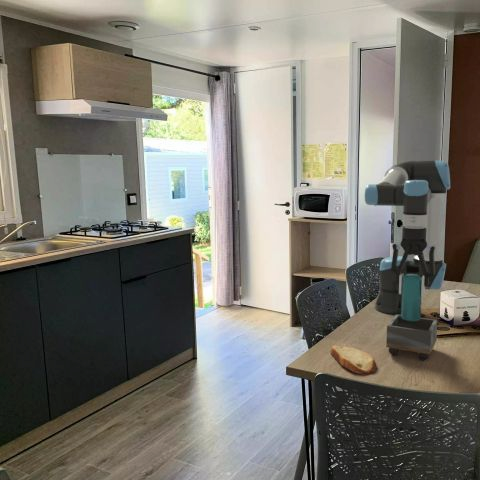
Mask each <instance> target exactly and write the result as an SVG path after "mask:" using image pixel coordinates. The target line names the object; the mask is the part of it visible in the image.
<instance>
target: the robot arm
mask: <svg viewBox="0 0 480 480" xmlns="http://www.w3.org/2000/svg"><path fill="white" fill-rule="evenodd" d="M450 189H451V174H450V166H449V164H448V162H447V161H445V160H437V159H435V160H407V161H403V162H400V163H397V164H394V165H393V166H391V167H390V168H388V169H387V171H386V172H385V174H384V177H382V179H381V180H379V182H378V183H377V184H376V183H373V184H367V185H366V186H365V189H364V202H365V204H366V205H368V206H374V207H375V206H376V207H377V206H380V207H381V206H382V207H383V206H386V207H387V206H389V207H391V206H392V207H395V206H396V207H403V212H402V226H403V228H402V232H401V233H402V235H401V238H402V239H401V241H400V242H394V243H393V244H392V245H391V246H392V250H393V252H392V256H388V257H385V258H383V259H382V260H381V261H380V265H379V289H378V293H377V297H376V298H375V299H376V300H375V303H374V309H375V310H376V311H377V312H381V313H385V314H392V315H393V314H394V315H396V314H397V315H401V313H402V312H401V311H402V306H401V305H402V303H401V302H402V301H401V299H402V298H401V297H402V287H403V277H404V276H405V275H407V274H416V275H419V276H420V277H421V278H422V286H421V298H422V297H423V298H424V296H425V295H426V290H428V291H430V290H431V291H439V290H441V288H442V286H443V283H444V278H445V273H446V268H447V263H445V262H443V261H444V259H443V257H442V256H441V254H440V246H441V245H440V244H441V243H440V242H441V223H442V222H441V221H442V204H443V203H442V201H443V197H444V196H445V195H447V190H450ZM401 248H402V249H403V251H404V253H403V255H399V250H400V249H401ZM409 255H410V256H411V255H412V256H413V255H414V256H413V260H409V257H408V256H409ZM407 265H417V266H419V272H418V273H410V272H406V268H407Z"/></svg>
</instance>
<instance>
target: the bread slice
mask: <svg viewBox="0 0 480 480" xmlns="http://www.w3.org/2000/svg"><path fill="white" fill-rule="evenodd" d="M329 353H330V355H331V356H332V358H334V360H335V361H336V362H337V363H339V364H340V365H341V367H343V368H345V369H346V370H348V371H351V372H352V373H354V374H356V375H361V374H362V376H369V375H372V374H374V373H375V371H376V368H377V363H376V361H375V358H374V357H373V356H372V355H371V354H370V353H368V352H366V351H362V350H360V349H357V348H355V347H350V346H345V345H332V346H331V348H330V351H329Z"/></svg>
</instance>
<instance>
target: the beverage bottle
mask: <svg viewBox="0 0 480 480" xmlns="http://www.w3.org/2000/svg"><path fill="white" fill-rule="evenodd" d="M406 272H410V273H418V272H419V266H417V265H407V268H406ZM421 286H422V278H421V277H420V276H419V275H416V274H407V275H405V276H404V277H403V287H402V297H401V298H402V299H401V301H402V302H401V303H402V305H401V306H402V311H401V312H402V313H401V314H400V315H401V317H402V319H404V320H408V321H418V320H420V318H422V300H423V299H422V296H421Z"/></svg>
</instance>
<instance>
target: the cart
mask: <svg viewBox="0 0 480 480" xmlns="http://www.w3.org/2000/svg"><path fill="white" fill-rule="evenodd" d="M437 335H438V319H433V318H425V317H420V320H418V321H408V320H404V319H402V317H401V314H394V317H393V318H391V320H390V321H389V323H388V324H387V325H386V340H385V343H386V348H388V353H389V354H390V355H391V356H397V355H398V354H399V352H400V350H401V351H402V350H403V351H407V352H414V353H417V357H418V359H419V360H421V361H423V362H424V361H427V360H428V359H429V357H430V355H431V353H432V352H433V351H432V350H433V349H434V347H435V345H436V343H437V339H438V338H437V337H438V336H437Z"/></svg>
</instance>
